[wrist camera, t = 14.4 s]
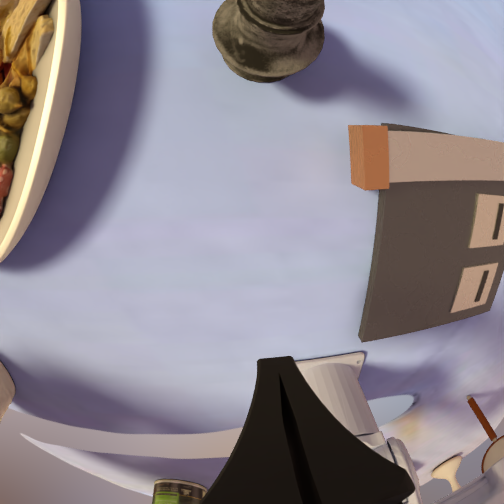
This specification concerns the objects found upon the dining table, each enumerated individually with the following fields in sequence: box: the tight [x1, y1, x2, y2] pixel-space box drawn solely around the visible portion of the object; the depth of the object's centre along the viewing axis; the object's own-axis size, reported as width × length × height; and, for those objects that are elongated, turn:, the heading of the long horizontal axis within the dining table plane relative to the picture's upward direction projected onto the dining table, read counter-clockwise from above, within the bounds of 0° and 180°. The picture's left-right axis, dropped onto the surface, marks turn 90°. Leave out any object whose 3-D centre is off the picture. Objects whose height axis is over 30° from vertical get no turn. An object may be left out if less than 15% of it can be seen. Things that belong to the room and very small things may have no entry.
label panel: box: [358, 123, 504, 342], centre depth 20 cm, size 18×18×2 cm
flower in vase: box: [431, 456, 462, 492], centre depth 42 cm, size 13×11×25 cm
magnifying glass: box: [467, 396, 504, 474], centre depth 25 cm, size 9×2×20 cm, turn 133°
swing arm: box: [348, 125, 504, 190], centre depth 15 cm, size 18×4×2 cm, turn 97°
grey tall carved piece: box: [213, 0, 325, 82], centre depth 9 cm, size 6×6×12 cm
